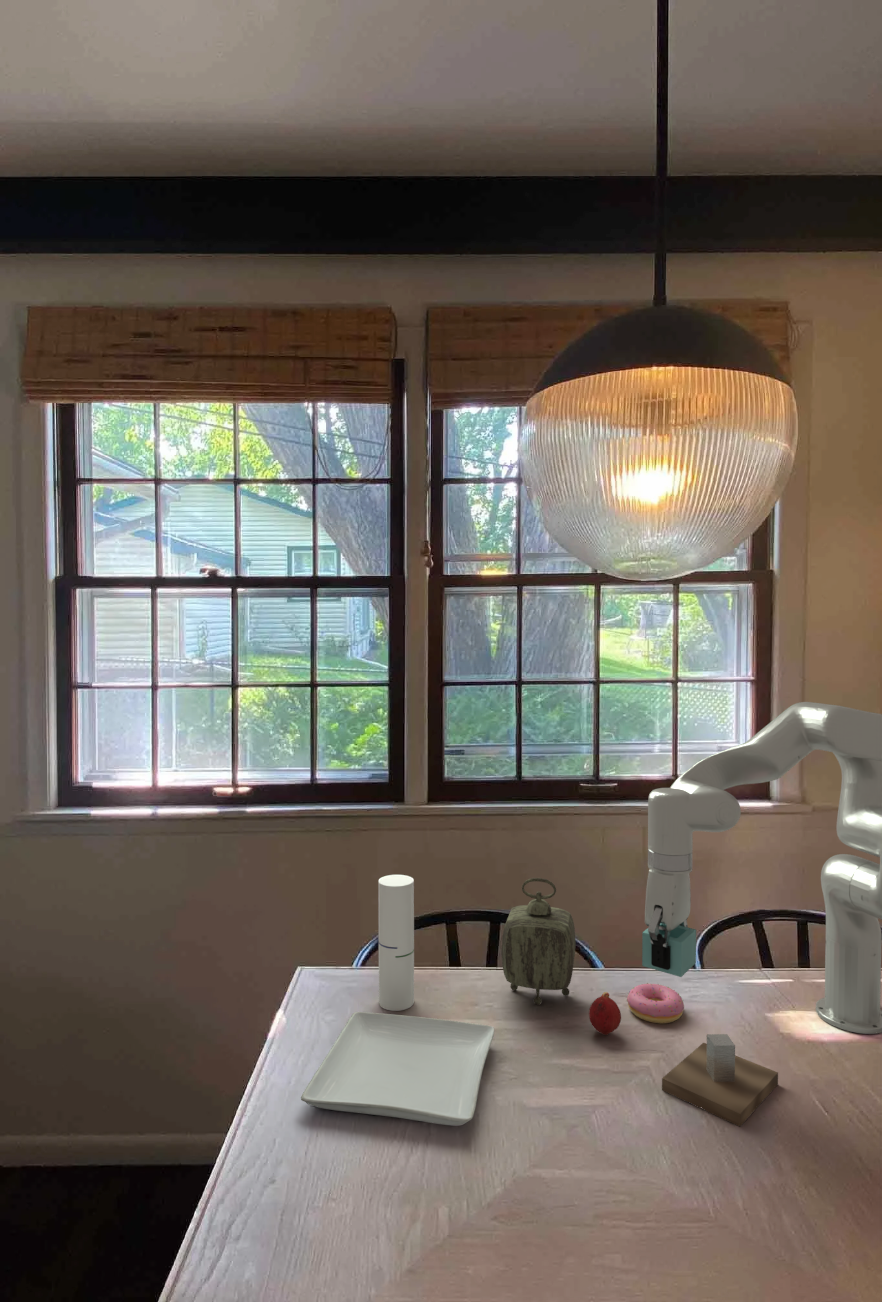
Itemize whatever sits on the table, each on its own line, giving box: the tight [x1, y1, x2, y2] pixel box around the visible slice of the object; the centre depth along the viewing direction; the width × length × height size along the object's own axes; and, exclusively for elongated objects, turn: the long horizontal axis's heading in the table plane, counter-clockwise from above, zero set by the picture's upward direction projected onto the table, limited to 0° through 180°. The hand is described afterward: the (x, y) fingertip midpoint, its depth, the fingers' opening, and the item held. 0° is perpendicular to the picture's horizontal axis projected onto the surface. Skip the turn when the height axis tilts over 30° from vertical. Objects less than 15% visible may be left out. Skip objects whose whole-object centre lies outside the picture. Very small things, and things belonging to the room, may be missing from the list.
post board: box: [661, 1033, 779, 1127], centre depth 125 cm, size 15×13×8 cm
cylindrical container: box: [377, 874, 415, 1012], centre depth 154 cm, size 7×7×25 cm
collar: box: [641, 923, 697, 978], centre depth 134 cm, size 7×7×6 cm
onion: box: [588, 991, 622, 1036], centre depth 141 cm, size 6×6×8 cm
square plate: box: [300, 1011, 496, 1127], centre depth 129 cm, size 27×27×4 cm
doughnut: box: [626, 982, 685, 1024], centre depth 150 cm, size 11×11×4 cm
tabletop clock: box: [500, 877, 577, 1006], centre depth 155 cm, size 14×9×25 cm, turn 77°
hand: (669, 958), depth 134 cm, fingers closed on collar, 7 cm apart
